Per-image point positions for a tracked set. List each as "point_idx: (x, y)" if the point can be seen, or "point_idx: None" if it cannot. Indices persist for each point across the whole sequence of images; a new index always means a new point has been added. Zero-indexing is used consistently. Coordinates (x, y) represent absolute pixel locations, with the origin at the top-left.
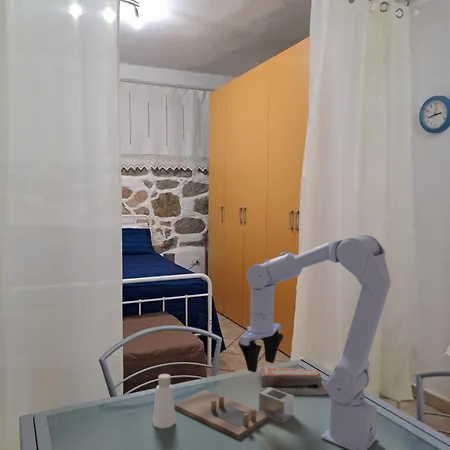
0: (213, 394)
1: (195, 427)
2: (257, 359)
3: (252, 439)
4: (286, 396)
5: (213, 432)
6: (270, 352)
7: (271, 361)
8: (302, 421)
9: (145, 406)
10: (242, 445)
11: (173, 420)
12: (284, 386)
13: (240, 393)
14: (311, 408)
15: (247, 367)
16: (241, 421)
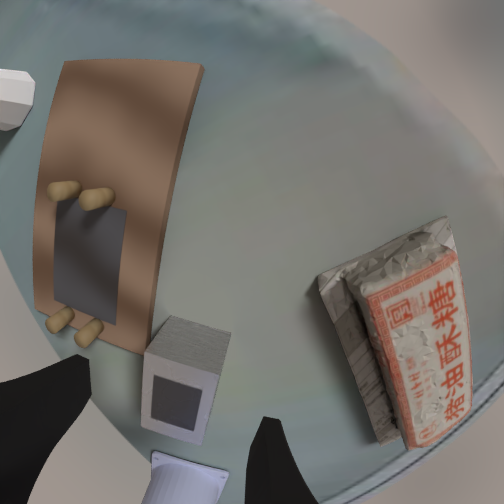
0: (175, 116)
1: (24, 182)
2: (49, 446)
3: (59, 332)
4: (181, 430)
5: (29, 236)
6: (251, 488)
7: (251, 450)
8: None
9: (64, 7)
10: (34, 317)
11: (7, 126)
12: (372, 353)
13: (277, 198)
14: None
15: (65, 360)
16: (73, 296)
